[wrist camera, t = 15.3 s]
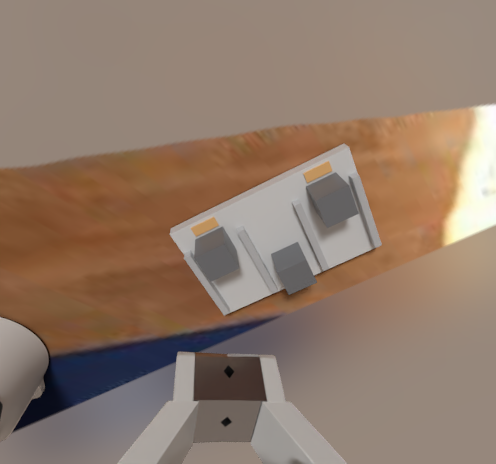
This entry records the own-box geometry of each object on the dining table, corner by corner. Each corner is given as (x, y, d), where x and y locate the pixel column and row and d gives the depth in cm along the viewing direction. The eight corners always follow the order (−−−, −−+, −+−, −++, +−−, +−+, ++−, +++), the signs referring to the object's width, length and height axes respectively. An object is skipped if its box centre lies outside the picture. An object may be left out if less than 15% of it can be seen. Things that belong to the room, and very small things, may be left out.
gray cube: (210, 262, 41) (210, 282, 38) (195, 239, 40) (194, 258, 36) (236, 249, 41) (239, 268, 38) (222, 226, 39) (224, 243, 36)
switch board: (225, 307, 47) (226, 321, 45) (170, 228, 40) (168, 239, 38) (375, 239, 44) (385, 250, 42) (343, 143, 38) (353, 150, 35)
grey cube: (316, 212, 40) (327, 228, 36) (305, 186, 38) (315, 200, 35) (345, 198, 39) (358, 213, 36) (335, 172, 38) (349, 185, 34)
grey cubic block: (282, 275, 44) (288, 294, 40) (270, 254, 42) (276, 272, 38) (308, 263, 43) (317, 282, 40) (297, 241, 41) (306, 259, 38)
